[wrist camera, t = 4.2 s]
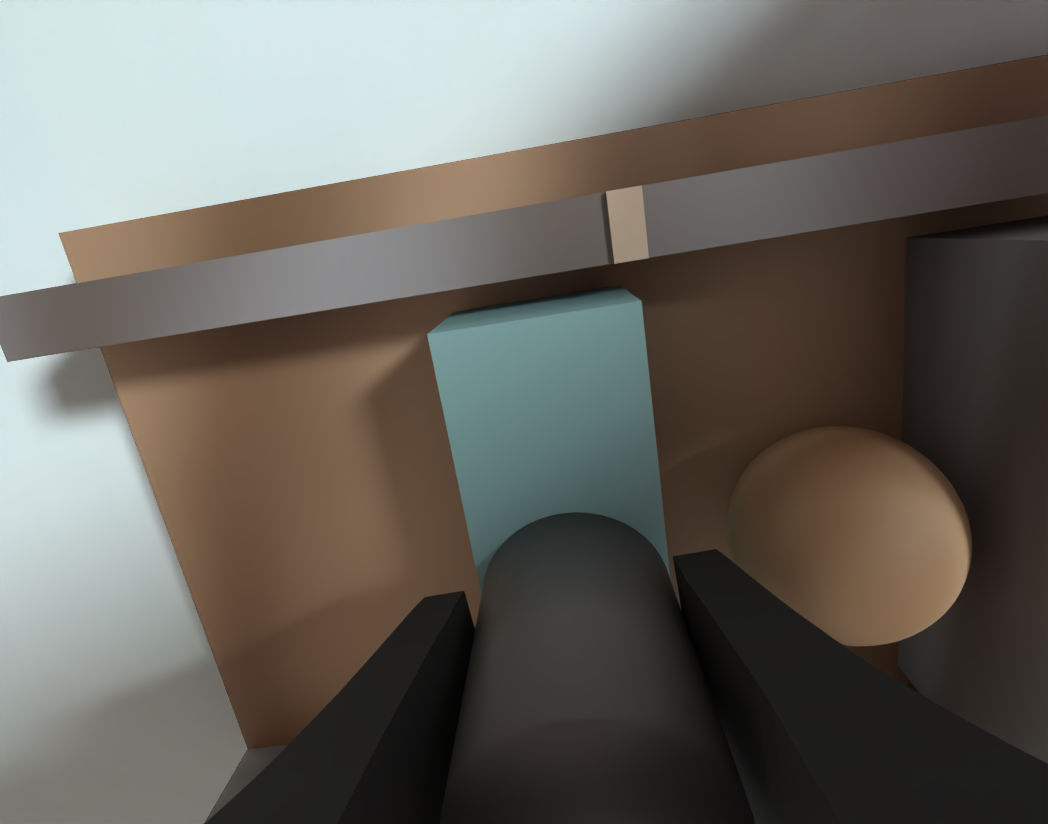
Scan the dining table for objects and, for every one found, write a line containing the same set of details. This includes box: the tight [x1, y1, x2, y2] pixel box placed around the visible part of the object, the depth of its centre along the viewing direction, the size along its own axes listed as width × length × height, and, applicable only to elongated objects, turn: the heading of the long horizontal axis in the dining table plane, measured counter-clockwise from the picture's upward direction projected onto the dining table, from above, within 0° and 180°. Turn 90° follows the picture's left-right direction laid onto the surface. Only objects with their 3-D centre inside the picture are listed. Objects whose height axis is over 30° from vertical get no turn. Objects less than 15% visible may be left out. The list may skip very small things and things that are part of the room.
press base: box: [0, 55, 1048, 822], centre depth 11 cm, size 19×14×6 cm
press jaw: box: [427, 285, 755, 824], centre depth 9 cm, size 3×9×6 cm, turn 9°
